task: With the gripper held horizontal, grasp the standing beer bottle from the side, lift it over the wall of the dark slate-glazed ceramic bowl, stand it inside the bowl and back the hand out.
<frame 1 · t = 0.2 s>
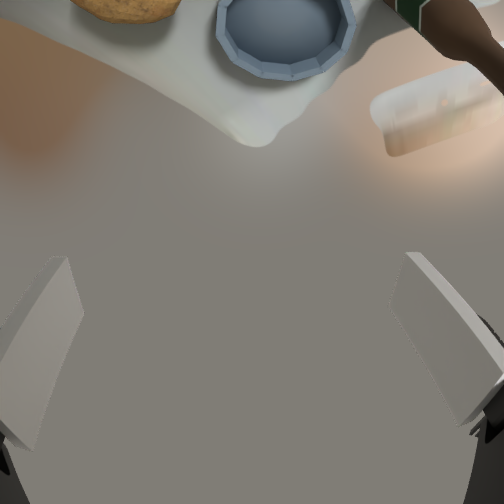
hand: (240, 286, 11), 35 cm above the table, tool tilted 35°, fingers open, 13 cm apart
bowl: (283, 16, 30), on the table
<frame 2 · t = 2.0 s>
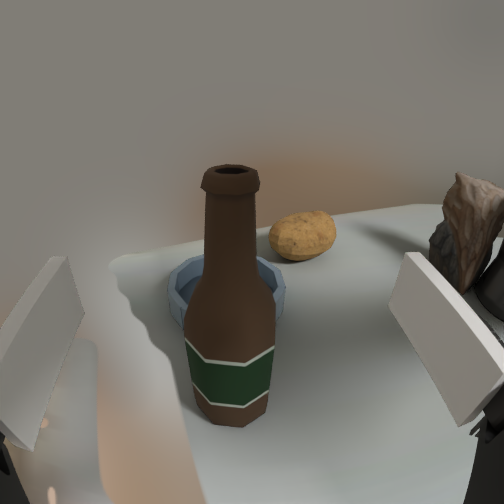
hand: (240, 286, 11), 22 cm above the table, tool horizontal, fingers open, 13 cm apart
beer bottle: (232, 401, 30), on the table
potato: (299, 256, 58), on the table
bowl: (226, 302, 45), on the table
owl: (454, 276, 53), on the table
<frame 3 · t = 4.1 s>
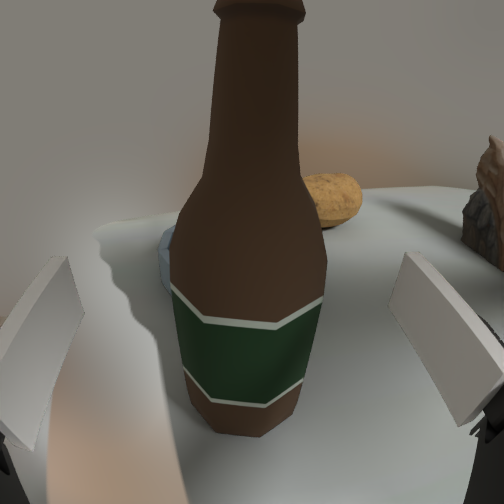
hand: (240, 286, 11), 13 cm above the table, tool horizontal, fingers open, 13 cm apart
beer bottle: (243, 398, 21), on the table
potato: (319, 225, 48), on the table
bowl: (233, 271, 36), on the table
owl: (490, 254, 43), on the table
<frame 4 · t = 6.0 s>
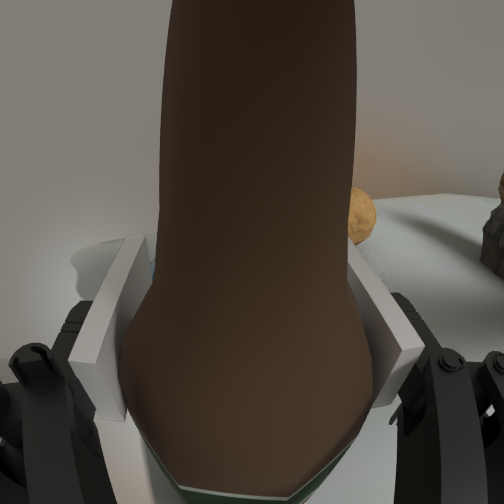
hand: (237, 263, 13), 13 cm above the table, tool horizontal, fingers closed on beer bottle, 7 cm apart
beer bottle: (241, 486, 15), on the table, touching gripper
potato: (327, 248, 42), on the table
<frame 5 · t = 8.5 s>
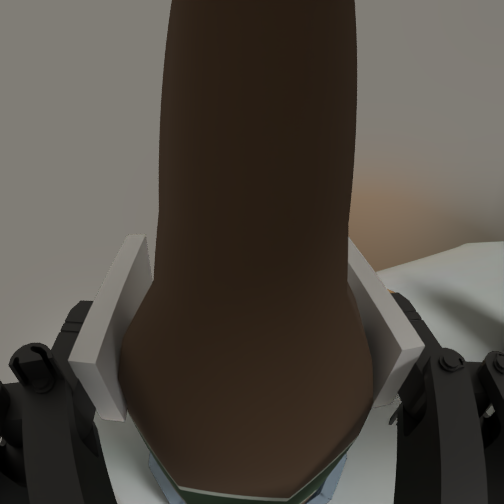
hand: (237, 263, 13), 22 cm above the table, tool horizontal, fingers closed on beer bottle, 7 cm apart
beer bottle: (241, 486, 15), point 8 cm above the table, touching gripper
bowl: (246, 462, 23), on the table
when the fingers open (15 cm above the table, at t = 11.0 s): beer bottle stays where it is, resting on bowl.
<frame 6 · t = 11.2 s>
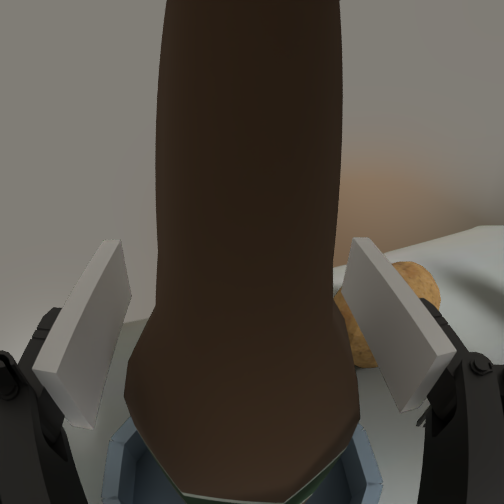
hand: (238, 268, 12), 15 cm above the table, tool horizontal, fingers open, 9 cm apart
beer bottle: (242, 490, 15), point 1 cm above the table, touching bowl
potato: (371, 347, 29), on the table
bowl: (241, 492, 16), on the table
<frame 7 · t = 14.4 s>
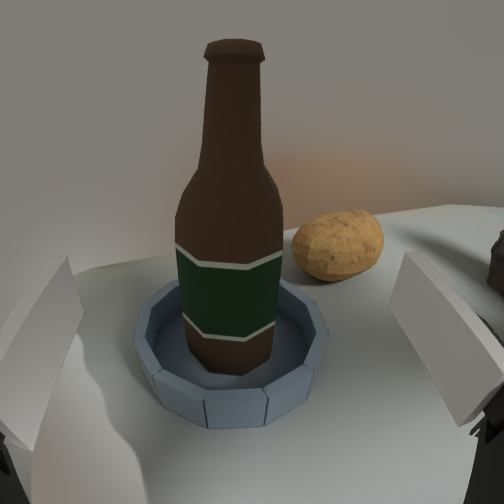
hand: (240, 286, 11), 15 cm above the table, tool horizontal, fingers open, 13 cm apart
beer bottle: (230, 347, 27), point 1 cm above the table, touching bowl
potato: (332, 274, 40), on the table
bowl: (230, 353, 27), on the table
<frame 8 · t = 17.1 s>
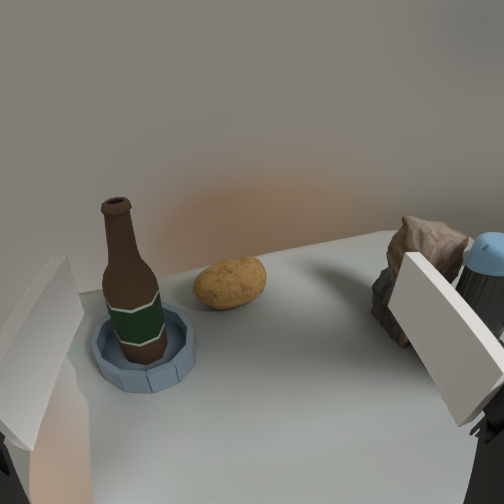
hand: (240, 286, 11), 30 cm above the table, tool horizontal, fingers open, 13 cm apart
beer bottle: (145, 349, 45), point 1 cm above the table, touching bowl
potato: (230, 302, 58), on the table
bowl: (145, 352, 45), on the table
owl: (400, 325, 53), on the table
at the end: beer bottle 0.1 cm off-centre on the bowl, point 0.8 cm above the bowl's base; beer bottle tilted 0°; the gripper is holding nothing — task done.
